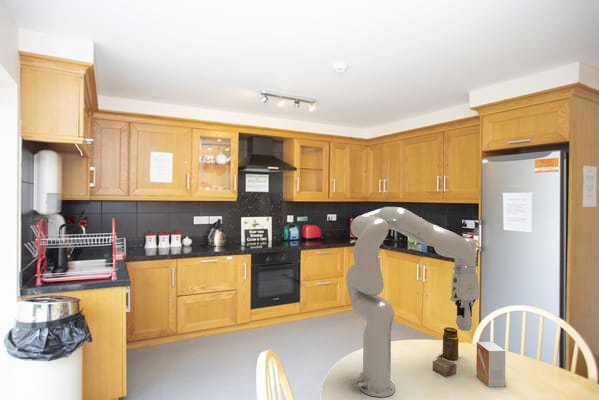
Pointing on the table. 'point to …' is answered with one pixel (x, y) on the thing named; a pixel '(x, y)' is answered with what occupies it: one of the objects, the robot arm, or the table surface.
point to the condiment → (450, 345)
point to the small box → (490, 364)
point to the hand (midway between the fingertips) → (464, 316)
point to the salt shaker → (465, 318)
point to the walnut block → (444, 367)
